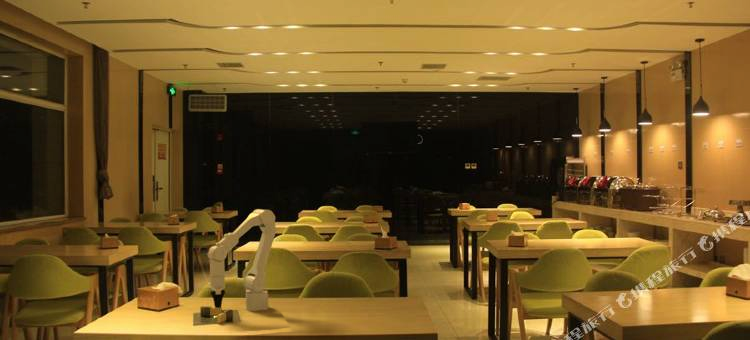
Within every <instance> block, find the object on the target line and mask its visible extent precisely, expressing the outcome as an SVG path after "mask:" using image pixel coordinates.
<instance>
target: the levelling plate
mask: <svg viewBox="0 0 750 340" xmlns="http://www.w3.org/2000/svg"><path fill="white" fill-rule="evenodd" d="M232 310H233V319H231V320H226V321H224V322H222V323H217V315H215V316H212V315H209V316H201V315H200V312H199V311H198V312H193V313H192V326H195V327H196V326H207V325H208V326H209V325H219V324H220V325H222V324H232V323H234V324H235V323H242V319H241V317H240V316H241V315H240V313H239V311H238V310H239V309H232Z"/></svg>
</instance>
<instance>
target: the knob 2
mask: <svg viewBox="0 0 750 340" xmlns="http://www.w3.org/2000/svg"><path fill="white" fill-rule="evenodd" d="M233 310H234V309H230V308H229V309H228V308H227V309H222V313H221V314H219V315H217V323H222V322H224V321H226V320H231V319H233Z"/></svg>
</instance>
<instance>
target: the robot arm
mask: <svg viewBox="0 0 750 340" xmlns="http://www.w3.org/2000/svg"><path fill="white" fill-rule="evenodd" d="M255 226H258V227H259V229H260V231H261V232H262V233H261V237H260V240H259V243H258V246H257V250H256V252H255V256H254V260H253V264H252V267H250V269H249V270H248V271H247V273H246V275H245V277H244V278H243V279H242V280H243V281H242V284H243V286H244V288H245V310H246V311H248V312H257V311H266V310H269V293H268V290H264V289H265V287H266V284H267V283H266V279H267V278H266V277H267V274H266V271H265V269H266V266H267V263H268V259H269V256H270V253H271V249H272V245H273V242H274V239H275V235H276V233H277V227H276V215H275V214H274V212H273V211H272V210H271V209H261V208H257V209H254V210H253V211H252V212H251V213H250V214H249V215H248V216H247V218H246V219H245V220H244V221H243V222H242V223H241V224H240V225H239V226H238V227H237V228H236V229H235V230H234V231H233V232H228V233H225V234H224V235H223V237H222V239H221V240H220V241H219V242H216V243H215V245H213V246H211V247H210V248H209V249H208V252H207V253H206V255H207V257H208V259H209V277H210V278H209V280H210V281H209V282H210V286H207V290H212V291H210V295H211V297H212V299H213V304H214V305H213V306H214V308H222V303H223V298H224V295H225V293H226V292H225V288H226V284H225V283H226V280H225V278H226V277H225V273H226V272H225V259H226V258H227V256H228V253H229V252H231V250H232V249H233V248H234V247H235V246H236V245H237V244H239V239H240V238H241V237H242V236H243V235H245V233H247V232H248V231H249V230H250V229H251V228H252V227H255Z"/></svg>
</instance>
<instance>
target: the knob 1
mask: <svg viewBox="0 0 750 340" xmlns="http://www.w3.org/2000/svg"><path fill="white" fill-rule="evenodd" d="M199 309H200V310H199V311H200V315H201V316H209V315H212V316H215V315H219V314H221V313H222V310H223V307H221V308H215V306H214V307H212V305H202V306H200V308H199Z"/></svg>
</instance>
